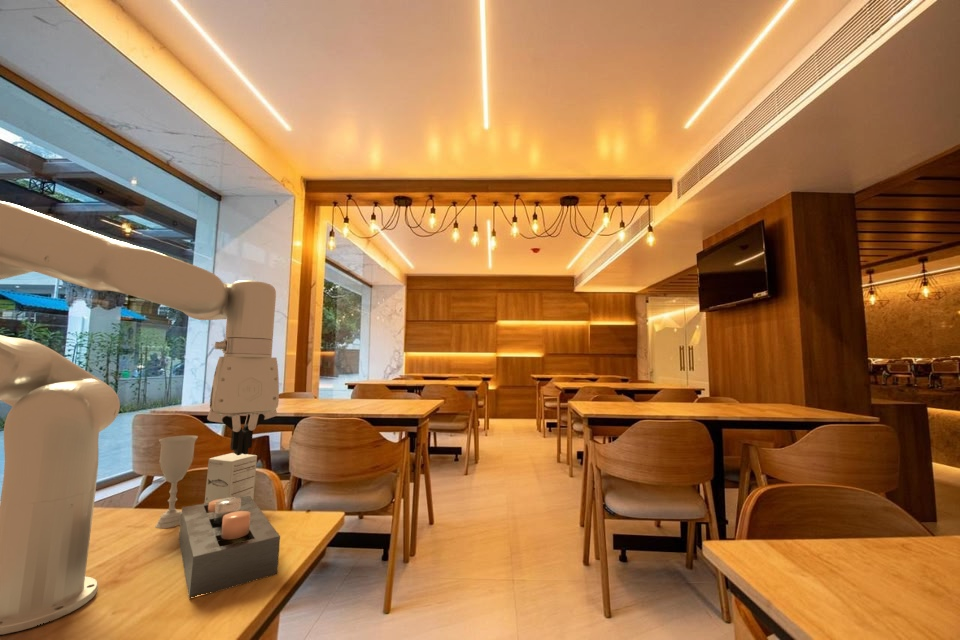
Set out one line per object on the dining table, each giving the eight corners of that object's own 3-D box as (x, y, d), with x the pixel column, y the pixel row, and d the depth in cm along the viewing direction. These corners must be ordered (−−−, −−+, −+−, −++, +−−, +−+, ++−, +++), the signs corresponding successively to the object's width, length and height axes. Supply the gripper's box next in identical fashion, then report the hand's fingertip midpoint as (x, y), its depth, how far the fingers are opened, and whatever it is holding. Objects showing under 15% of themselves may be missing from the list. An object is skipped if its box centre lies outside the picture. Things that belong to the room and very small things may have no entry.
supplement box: (201, 514, 92) (207, 458, 93) (230, 504, 99) (234, 451, 100) (226, 518, 90) (231, 460, 91) (254, 507, 97) (258, 454, 98)
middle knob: (215, 523, 71) (217, 506, 71) (212, 516, 74) (214, 500, 74) (241, 518, 73) (242, 501, 74) (237, 512, 76) (239, 495, 77)
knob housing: (189, 599, 59) (193, 556, 60) (178, 538, 79) (181, 507, 80) (277, 573, 67) (280, 536, 67) (247, 524, 87) (249, 495, 87)
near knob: (223, 541, 64) (224, 521, 64) (219, 533, 67) (221, 514, 67) (251, 535, 67) (252, 516, 67) (246, 527, 70) (248, 509, 70)
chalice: (172, 530, 83) (181, 441, 85) (140, 529, 83) (149, 441, 85) (197, 517, 90) (205, 435, 92) (168, 516, 90) (176, 435, 92)
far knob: (208, 522, 77) (209, 506, 78) (206, 516, 81) (207, 501, 81) (232, 518, 80) (233, 502, 80) (229, 512, 83) (230, 497, 83)
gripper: (202, 347, 65) (192, 464, 63) (298, 350, 75) (292, 451, 73) (195, 348, 70) (185, 455, 68) (285, 351, 80) (279, 444, 78)
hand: (240, 453), depth 70 cm, fingers closed
